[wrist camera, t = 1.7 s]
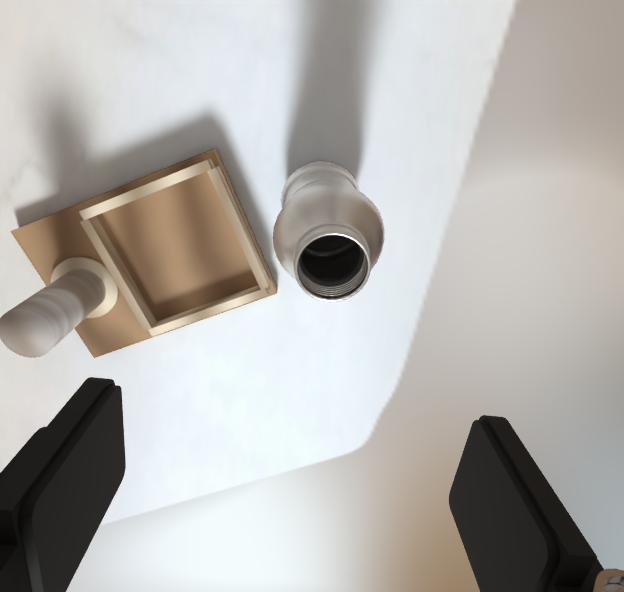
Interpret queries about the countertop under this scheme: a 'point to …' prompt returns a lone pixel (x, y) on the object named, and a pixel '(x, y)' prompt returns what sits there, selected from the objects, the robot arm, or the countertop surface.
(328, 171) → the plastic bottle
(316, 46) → the countertop surface
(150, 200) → the board
